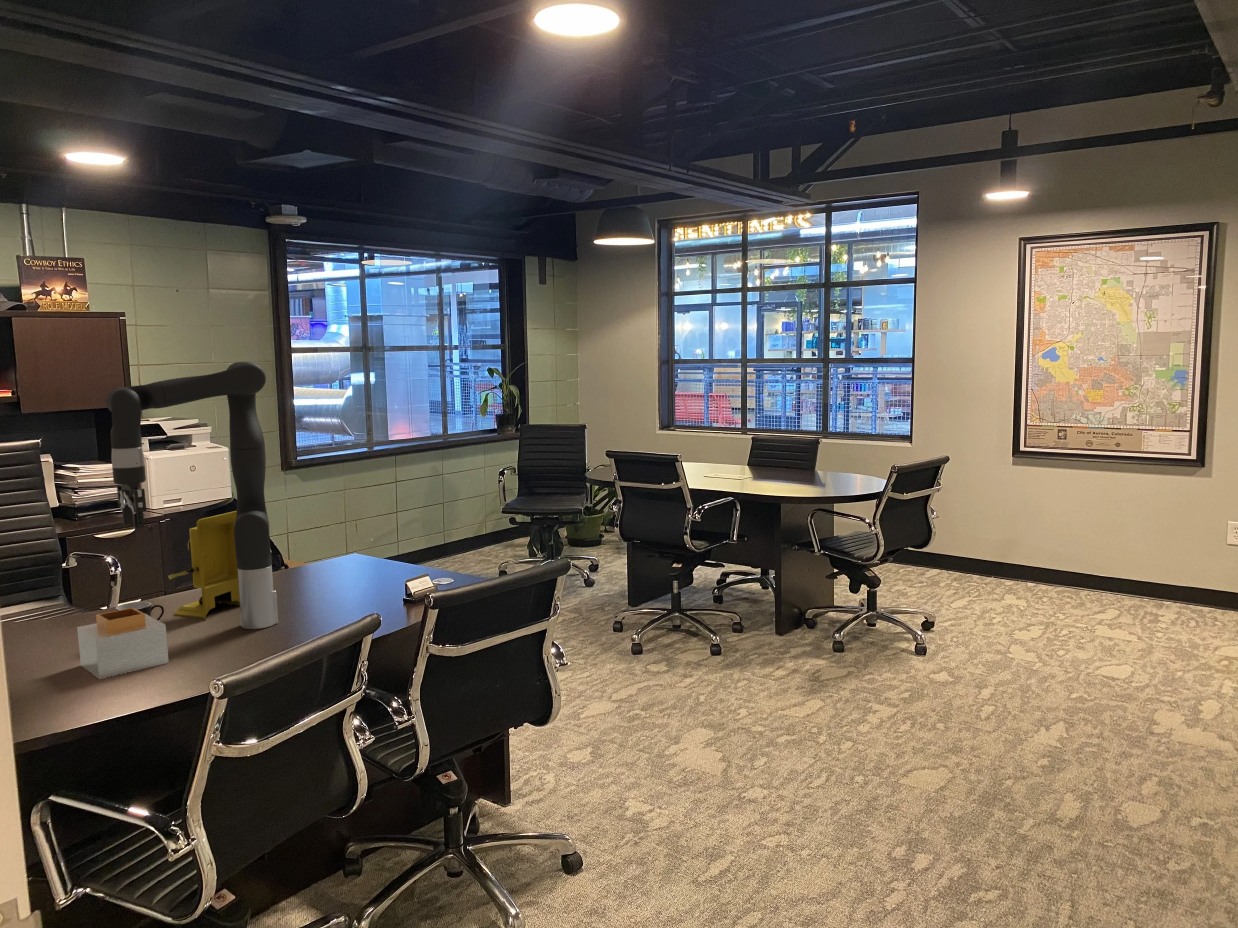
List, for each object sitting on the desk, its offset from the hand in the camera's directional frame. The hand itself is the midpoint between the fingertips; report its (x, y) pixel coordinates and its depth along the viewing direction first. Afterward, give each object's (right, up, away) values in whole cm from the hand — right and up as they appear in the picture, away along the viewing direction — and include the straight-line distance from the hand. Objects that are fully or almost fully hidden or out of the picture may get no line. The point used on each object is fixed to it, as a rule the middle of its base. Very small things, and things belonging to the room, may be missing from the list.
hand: (133, 525), depth 243 cm
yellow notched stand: (+3, -29, +41) cm, 50 cm away
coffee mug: (-3, -32, +10) cm, 34 cm away
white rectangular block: (+2, -34, -9) cm, 36 cm away
